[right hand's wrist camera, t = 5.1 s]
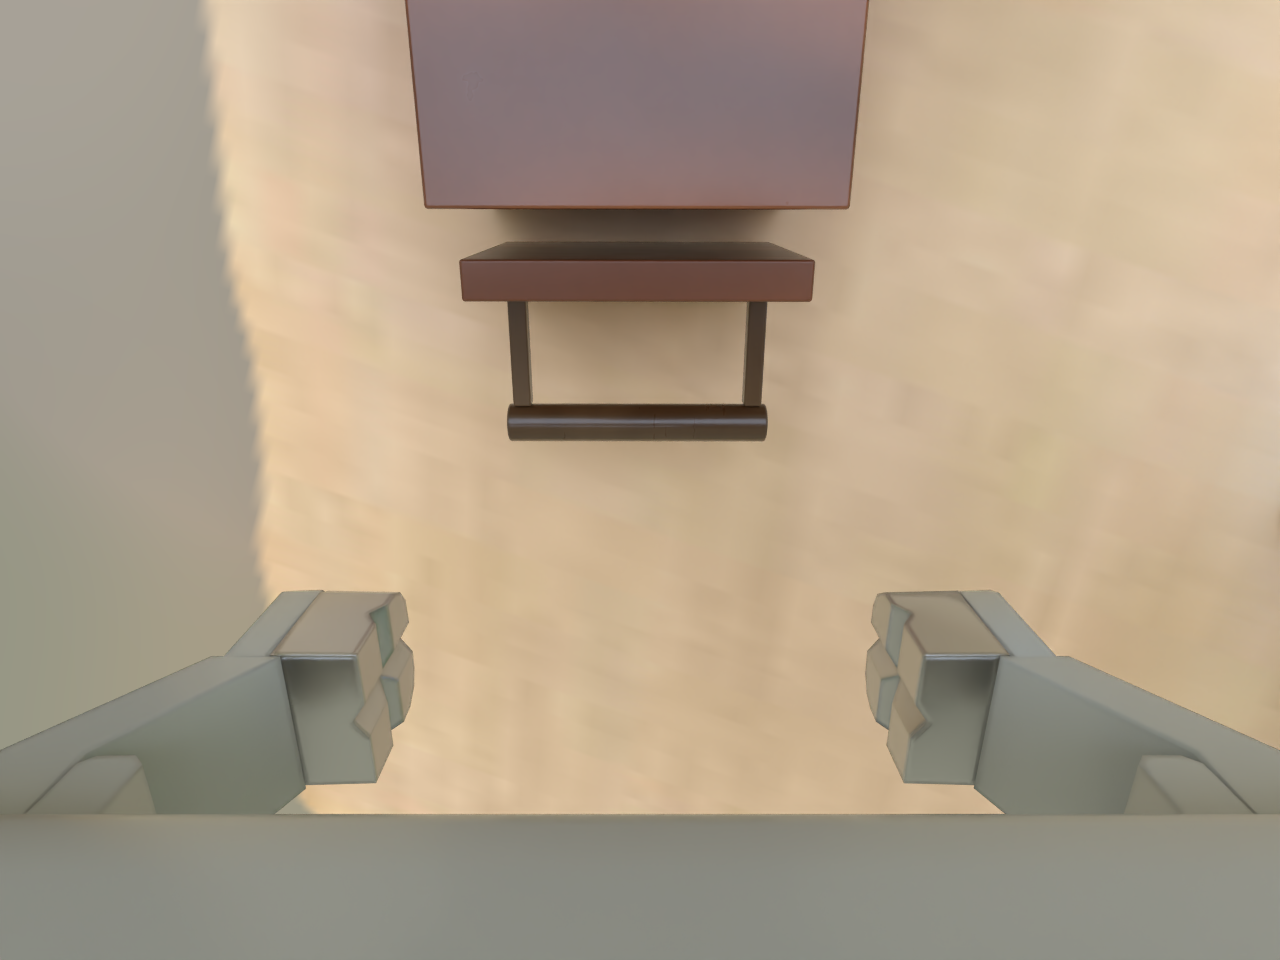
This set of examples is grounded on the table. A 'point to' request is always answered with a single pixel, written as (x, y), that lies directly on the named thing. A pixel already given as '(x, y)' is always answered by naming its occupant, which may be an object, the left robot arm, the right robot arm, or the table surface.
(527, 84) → the cabinet
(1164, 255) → the table surface
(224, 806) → the right robot arm
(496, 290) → the drawer
